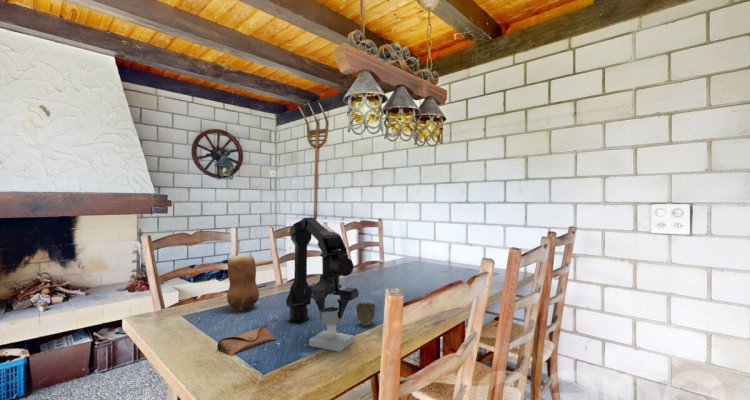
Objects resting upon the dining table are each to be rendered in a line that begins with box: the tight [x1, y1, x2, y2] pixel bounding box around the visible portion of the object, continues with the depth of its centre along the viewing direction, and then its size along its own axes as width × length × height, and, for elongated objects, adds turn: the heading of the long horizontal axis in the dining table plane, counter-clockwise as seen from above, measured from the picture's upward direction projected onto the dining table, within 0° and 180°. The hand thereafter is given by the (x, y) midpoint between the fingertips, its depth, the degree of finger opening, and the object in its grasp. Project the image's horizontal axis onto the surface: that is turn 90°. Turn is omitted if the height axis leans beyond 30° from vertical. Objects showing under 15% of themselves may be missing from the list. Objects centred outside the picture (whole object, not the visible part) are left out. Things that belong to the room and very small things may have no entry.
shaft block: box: [308, 323, 354, 353], centre depth 113 cm, size 12×9×7 cm
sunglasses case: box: [217, 325, 277, 357], centre depth 114 cm, size 18×7×7 cm
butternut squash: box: [226, 254, 260, 311], centre depth 151 cm, size 14×13×25 cm
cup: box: [355, 301, 376, 327], centre depth 130 cm, size 8×7×8 cm
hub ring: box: [319, 305, 343, 324], centre depth 113 cm, size 7×7×4 cm
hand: (331, 316), depth 113 cm, fingers closed on hub ring, 7 cm apart
